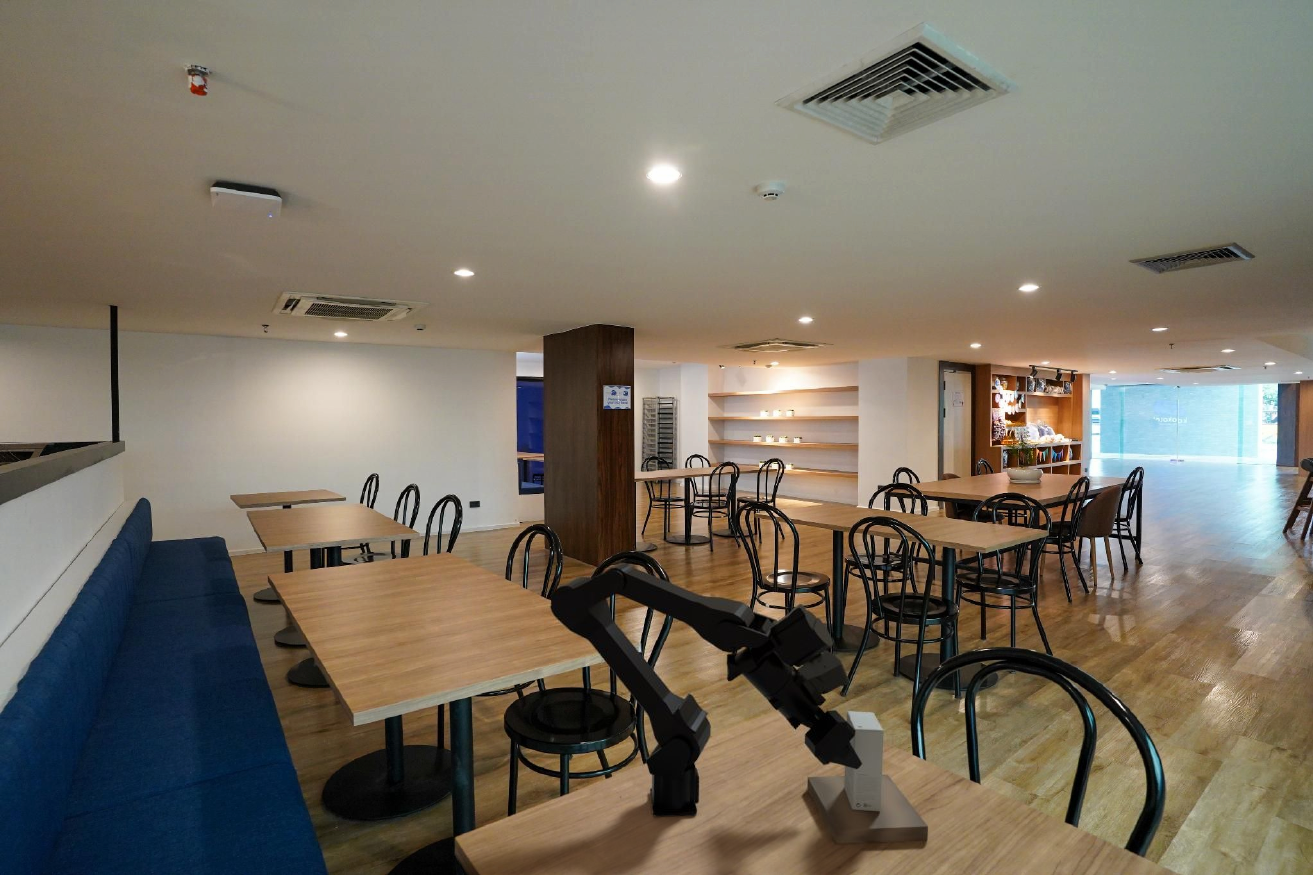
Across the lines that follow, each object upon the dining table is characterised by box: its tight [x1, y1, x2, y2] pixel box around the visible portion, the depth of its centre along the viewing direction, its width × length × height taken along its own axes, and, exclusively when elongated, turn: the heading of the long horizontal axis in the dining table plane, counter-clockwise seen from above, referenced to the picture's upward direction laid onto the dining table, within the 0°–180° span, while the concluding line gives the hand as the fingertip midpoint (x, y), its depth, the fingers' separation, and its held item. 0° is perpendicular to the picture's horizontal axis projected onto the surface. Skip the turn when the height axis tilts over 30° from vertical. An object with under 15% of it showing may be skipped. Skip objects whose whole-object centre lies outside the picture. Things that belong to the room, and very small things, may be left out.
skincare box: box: [843, 710, 885, 811], centre depth 98 cm, size 6×4×12 cm
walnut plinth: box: [806, 774, 929, 845], centre depth 98 cm, size 13×13×2 cm
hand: (844, 749), depth 97 cm, fingers open, 9 cm apart
